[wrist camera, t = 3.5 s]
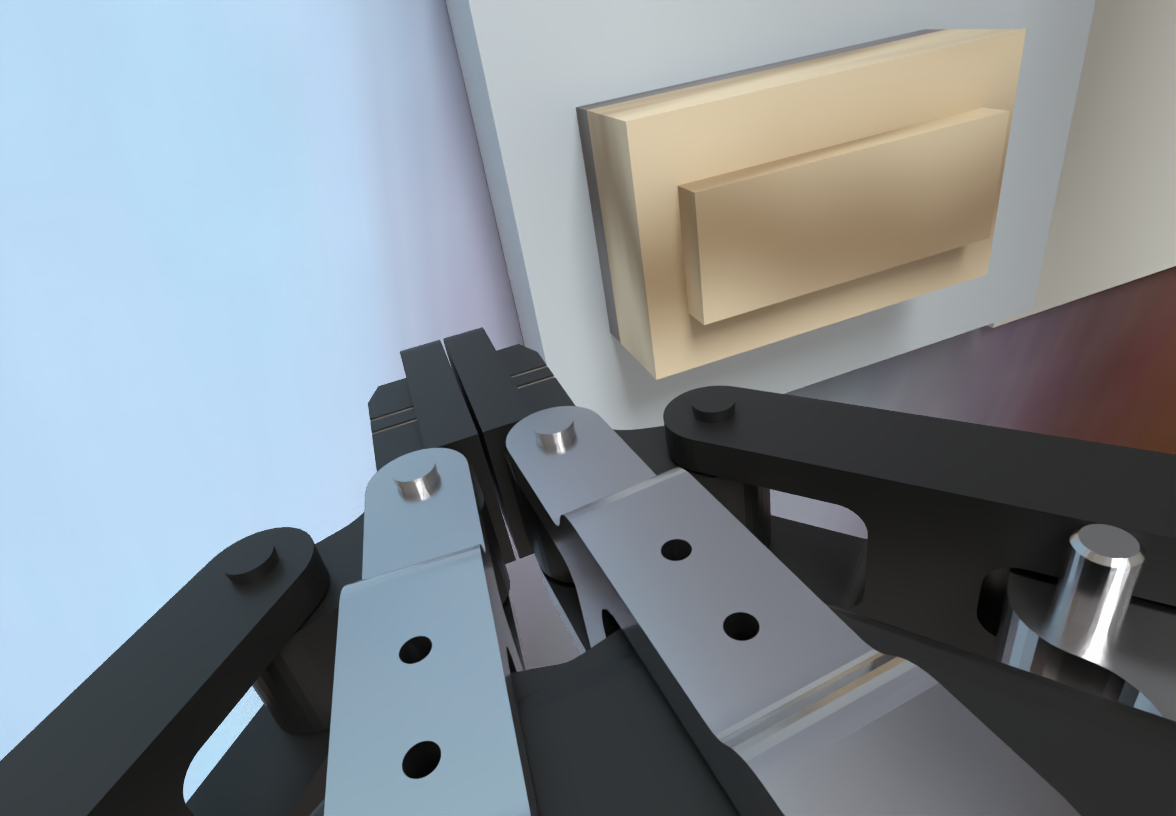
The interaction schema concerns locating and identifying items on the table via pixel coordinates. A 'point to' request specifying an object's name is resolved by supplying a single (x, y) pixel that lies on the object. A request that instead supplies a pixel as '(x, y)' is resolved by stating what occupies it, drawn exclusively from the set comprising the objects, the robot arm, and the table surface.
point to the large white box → (701, 50)
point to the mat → (1116, 159)
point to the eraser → (797, 191)
